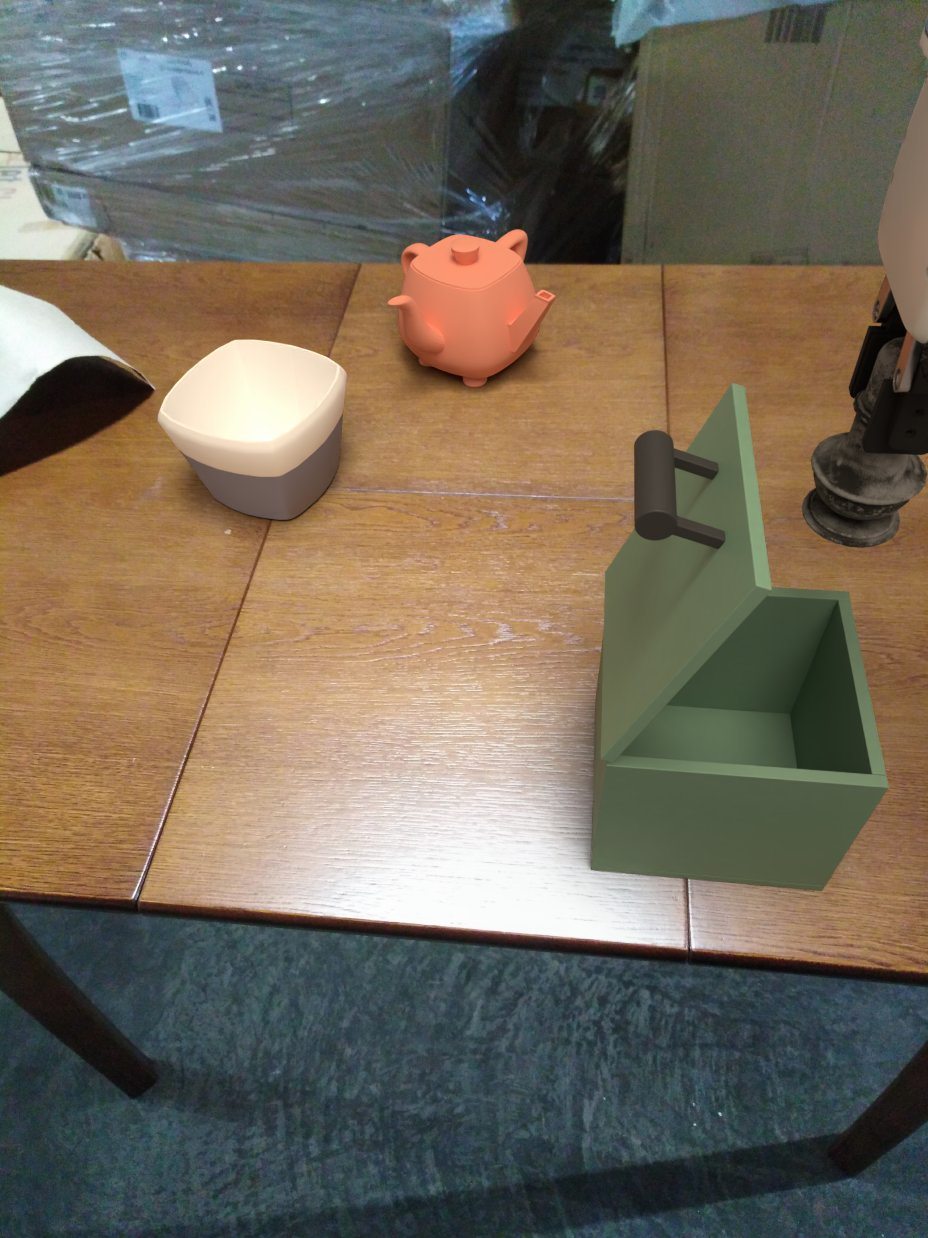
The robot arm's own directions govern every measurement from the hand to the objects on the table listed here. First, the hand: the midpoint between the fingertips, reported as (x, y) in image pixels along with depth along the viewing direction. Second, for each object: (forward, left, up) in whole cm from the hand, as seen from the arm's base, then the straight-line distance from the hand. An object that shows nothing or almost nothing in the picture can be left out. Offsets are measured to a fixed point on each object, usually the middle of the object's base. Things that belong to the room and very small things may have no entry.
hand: (887, 419), depth 46 cm
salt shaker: (0, 0, -7) cm, 7 cm away
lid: (+11, +1, -8) cm, 13 cm away
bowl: (+32, -42, -30) cm, 60 cm away
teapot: (+8, -55, -30) cm, 63 cm away
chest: (+7, +3, -30) cm, 31 cm away
